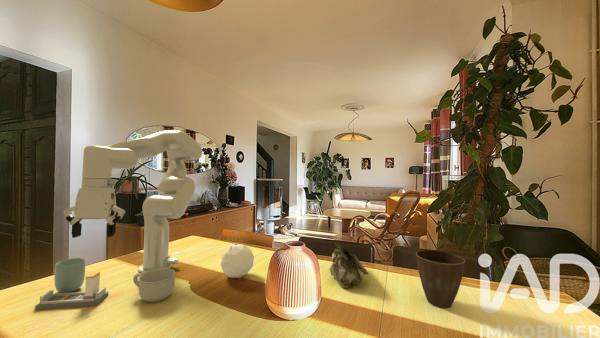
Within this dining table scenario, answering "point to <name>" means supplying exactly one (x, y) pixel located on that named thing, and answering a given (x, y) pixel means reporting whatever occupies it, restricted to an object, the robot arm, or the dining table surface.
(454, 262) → the plant pot
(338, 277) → the hollow geode rock
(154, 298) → the teacup
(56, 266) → the cup
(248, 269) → the geodesic sphere
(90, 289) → the fader tab
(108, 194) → the robot arm
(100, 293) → the grey tray
